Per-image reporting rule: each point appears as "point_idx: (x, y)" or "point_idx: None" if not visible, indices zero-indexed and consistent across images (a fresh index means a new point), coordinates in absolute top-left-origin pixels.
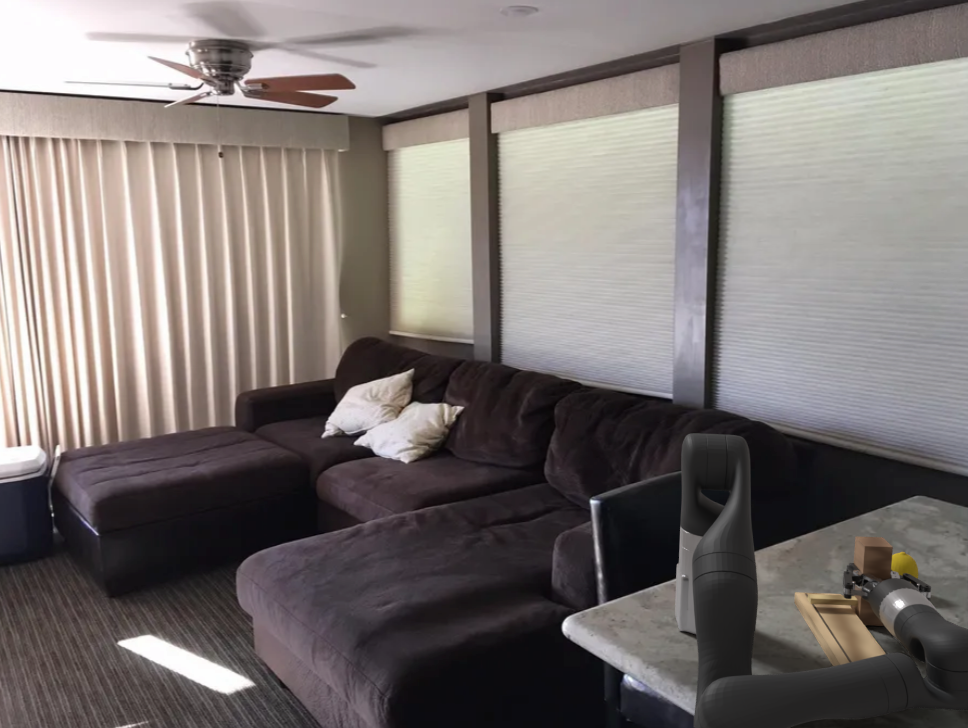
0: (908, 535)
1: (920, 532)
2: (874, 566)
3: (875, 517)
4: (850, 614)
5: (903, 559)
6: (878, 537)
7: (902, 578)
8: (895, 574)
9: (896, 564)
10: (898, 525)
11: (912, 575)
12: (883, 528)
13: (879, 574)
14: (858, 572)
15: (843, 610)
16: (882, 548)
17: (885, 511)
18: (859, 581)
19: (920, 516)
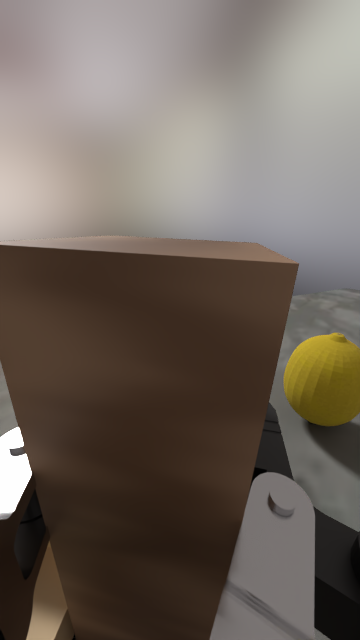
0: (335, 314)
1: (350, 312)
2: (101, 446)
3: (302, 297)
4: (36, 610)
5: (337, 353)
6: (230, 242)
7: (348, 600)
8: (283, 543)
9: (314, 364)
10: (325, 305)
11: (355, 399)
12: (308, 306)
13: (151, 503)
14: (4, 461)
15: (48, 553)
16: (157, 278)
17: (314, 294)
18: (27, 510)
19: (349, 299)
